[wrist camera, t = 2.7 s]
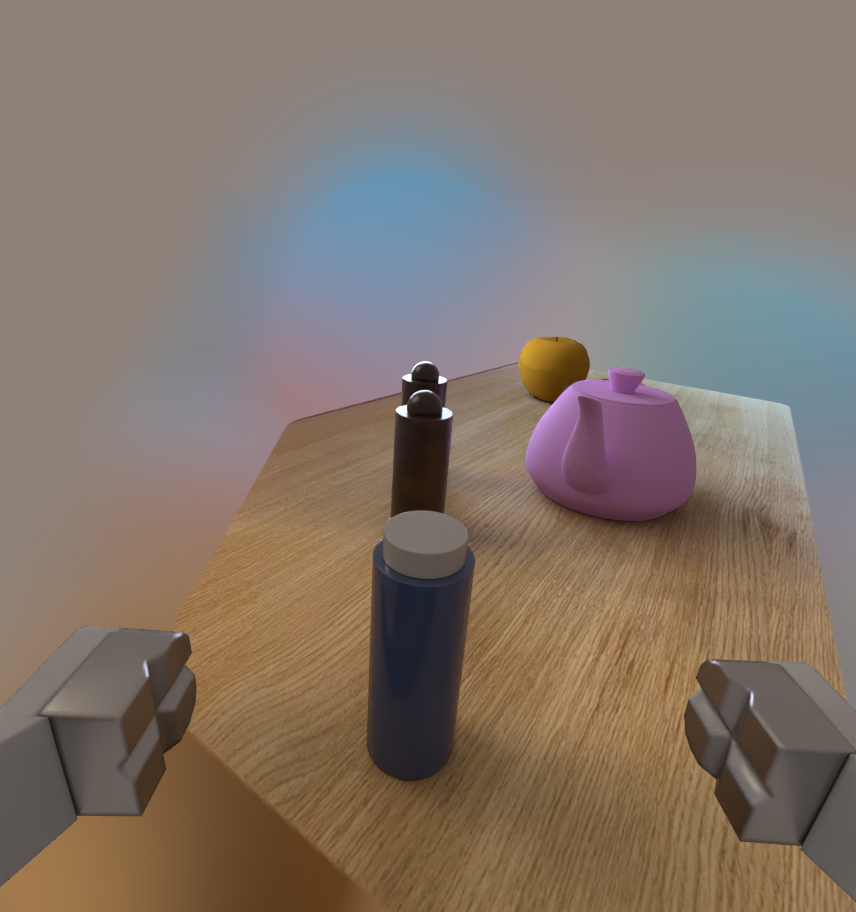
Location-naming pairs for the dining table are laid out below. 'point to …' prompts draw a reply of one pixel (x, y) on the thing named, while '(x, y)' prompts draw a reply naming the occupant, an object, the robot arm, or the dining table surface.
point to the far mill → (424, 382)
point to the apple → (552, 366)
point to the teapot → (614, 449)
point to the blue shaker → (417, 641)
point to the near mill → (421, 454)
